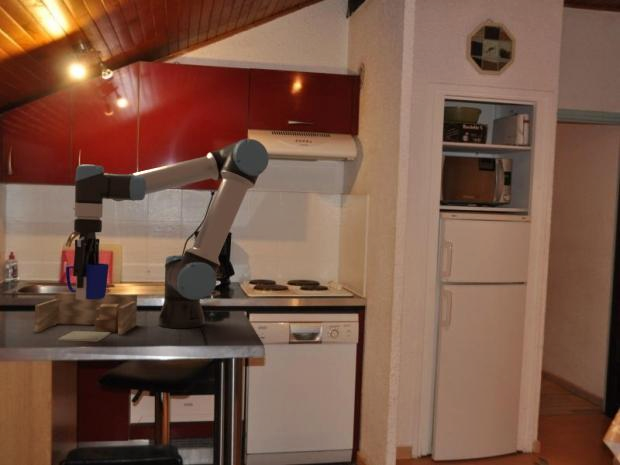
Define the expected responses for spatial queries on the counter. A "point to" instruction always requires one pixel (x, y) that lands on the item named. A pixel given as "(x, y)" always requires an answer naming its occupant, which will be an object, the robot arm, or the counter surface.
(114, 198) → the robot arm
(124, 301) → the rack
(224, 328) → the counter surface
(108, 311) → the offcut oak
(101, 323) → the offcut walnut
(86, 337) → the sage tile
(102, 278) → the mug
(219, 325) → the counter surface
